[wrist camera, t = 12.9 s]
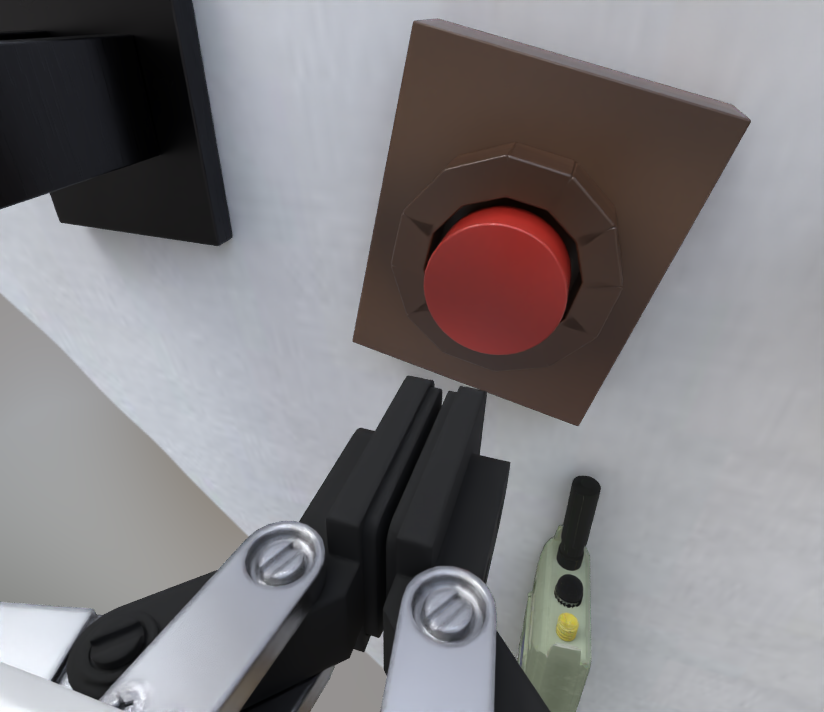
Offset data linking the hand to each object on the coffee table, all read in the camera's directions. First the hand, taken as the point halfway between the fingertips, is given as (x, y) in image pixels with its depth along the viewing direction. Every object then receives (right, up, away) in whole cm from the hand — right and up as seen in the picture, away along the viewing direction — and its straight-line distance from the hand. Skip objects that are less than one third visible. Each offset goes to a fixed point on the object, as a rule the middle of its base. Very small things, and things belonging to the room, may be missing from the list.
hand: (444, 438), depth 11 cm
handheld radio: (+8, -14, +22) cm, 27 cm away
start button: (+2, +5, +6) cm, 8 cm away
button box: (+4, +7, +10) cm, 12 cm away
